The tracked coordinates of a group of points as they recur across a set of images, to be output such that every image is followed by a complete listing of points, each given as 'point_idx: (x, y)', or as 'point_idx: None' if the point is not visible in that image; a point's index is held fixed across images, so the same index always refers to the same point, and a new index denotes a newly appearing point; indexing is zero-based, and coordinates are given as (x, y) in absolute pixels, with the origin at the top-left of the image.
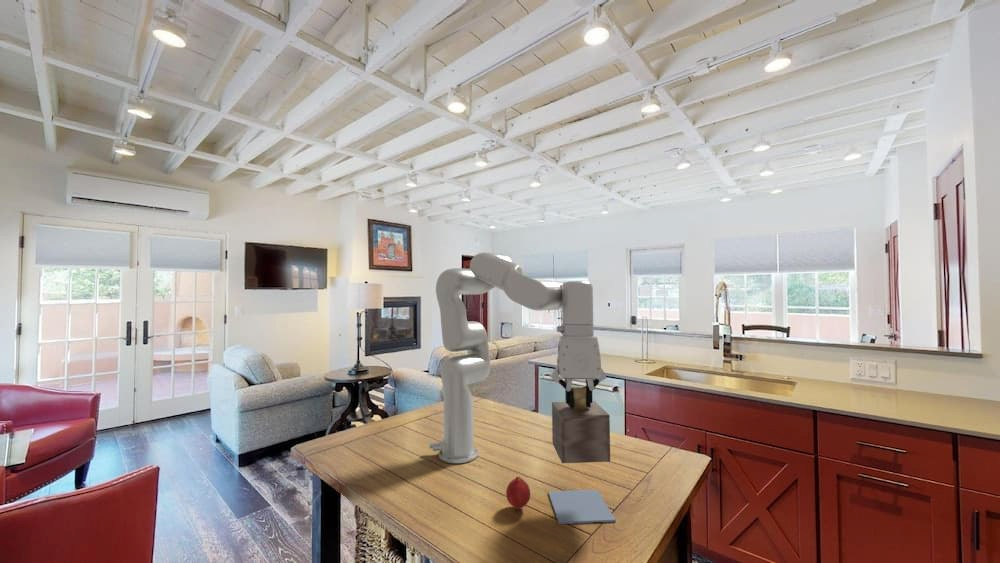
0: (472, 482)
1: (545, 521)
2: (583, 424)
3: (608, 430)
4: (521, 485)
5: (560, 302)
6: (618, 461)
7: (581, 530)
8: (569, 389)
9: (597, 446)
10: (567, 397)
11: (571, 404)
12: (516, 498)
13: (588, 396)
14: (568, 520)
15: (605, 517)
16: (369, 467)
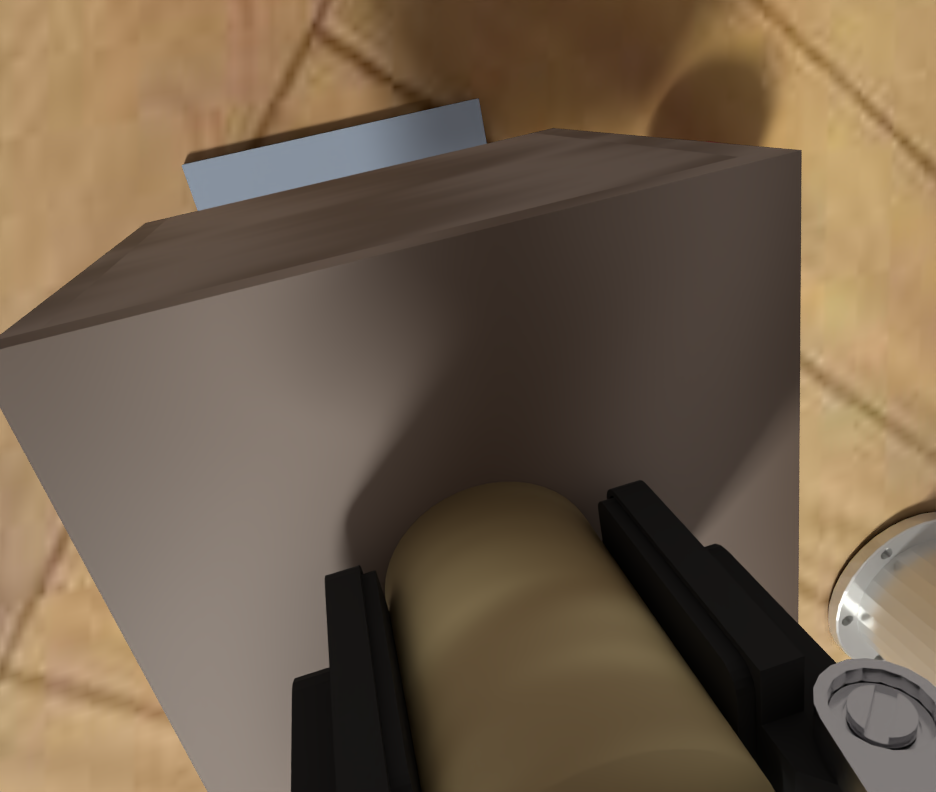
0: (853, 382)
1: (539, 114)
2: (430, 215)
3: (80, 285)
4: None
5: None
6: (163, 736)
7: (364, 60)
8: (849, 708)
9: (250, 216)
10: (762, 601)
11: (650, 508)
12: (716, 142)
13: (376, 701)
14: (430, 120)
15: (237, 177)
16: None
